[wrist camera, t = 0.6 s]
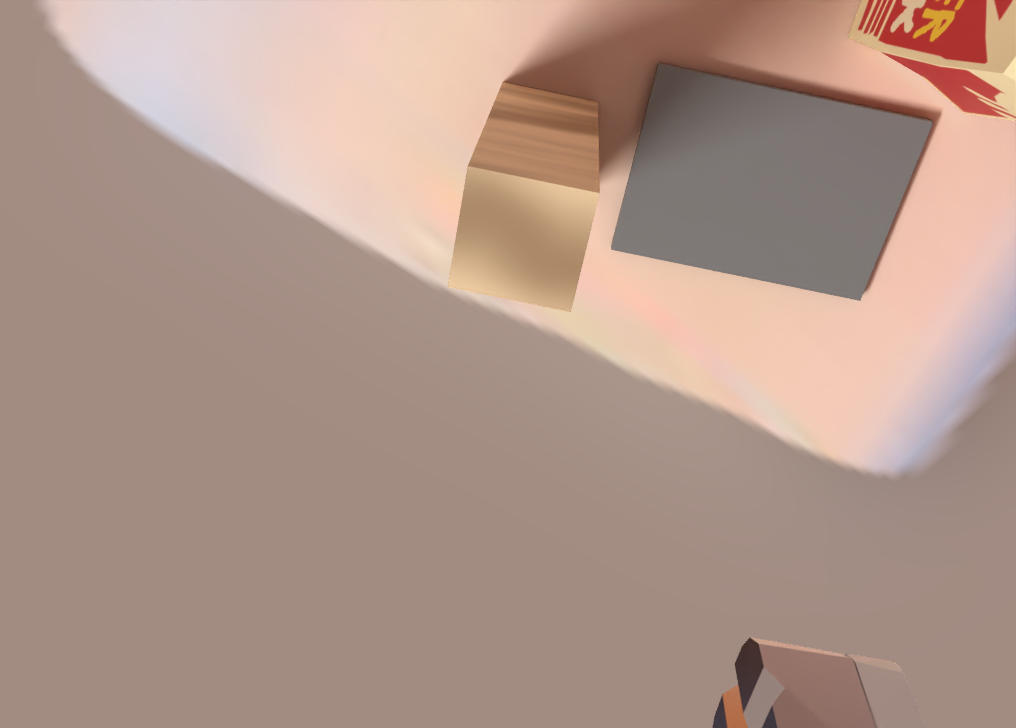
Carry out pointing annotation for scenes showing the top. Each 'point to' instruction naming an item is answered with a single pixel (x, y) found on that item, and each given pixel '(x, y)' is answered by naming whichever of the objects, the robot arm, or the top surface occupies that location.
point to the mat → (766, 181)
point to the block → (529, 199)
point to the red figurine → (949, 47)
